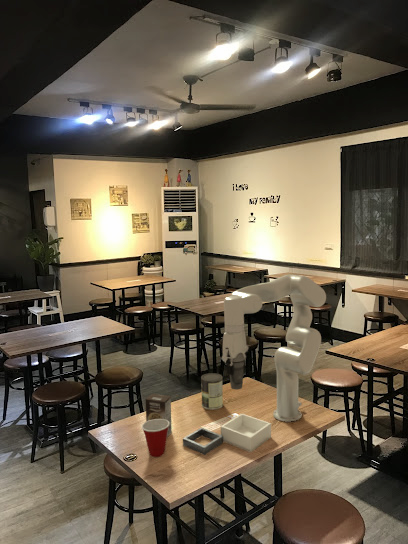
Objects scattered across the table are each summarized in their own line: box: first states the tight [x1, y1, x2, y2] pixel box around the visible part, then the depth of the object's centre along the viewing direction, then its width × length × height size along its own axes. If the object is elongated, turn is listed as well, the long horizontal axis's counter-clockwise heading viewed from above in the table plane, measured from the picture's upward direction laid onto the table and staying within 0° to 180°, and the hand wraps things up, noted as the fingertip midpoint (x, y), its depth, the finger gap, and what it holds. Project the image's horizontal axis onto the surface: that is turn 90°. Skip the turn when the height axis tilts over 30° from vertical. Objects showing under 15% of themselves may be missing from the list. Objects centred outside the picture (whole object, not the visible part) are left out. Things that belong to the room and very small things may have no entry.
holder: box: [182, 427, 224, 456], centre depth 174 cm, size 11×11×3 cm
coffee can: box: [200, 372, 224, 411], centre depth 209 cm, size 10×10×14 cm
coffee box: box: [145, 393, 173, 438], centre depth 183 cm, size 9×6×16 cm
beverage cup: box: [228, 353, 246, 391], centre depth 173 cm, size 7×7×20 cm
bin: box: [220, 413, 272, 453], centre depth 178 cm, size 15×15×6 cm
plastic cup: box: [141, 419, 169, 458], centre depth 168 cm, size 11×11×12 cm
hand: (236, 371), depth 174 cm, fingers closed on beverage cup, 6 cm apart
